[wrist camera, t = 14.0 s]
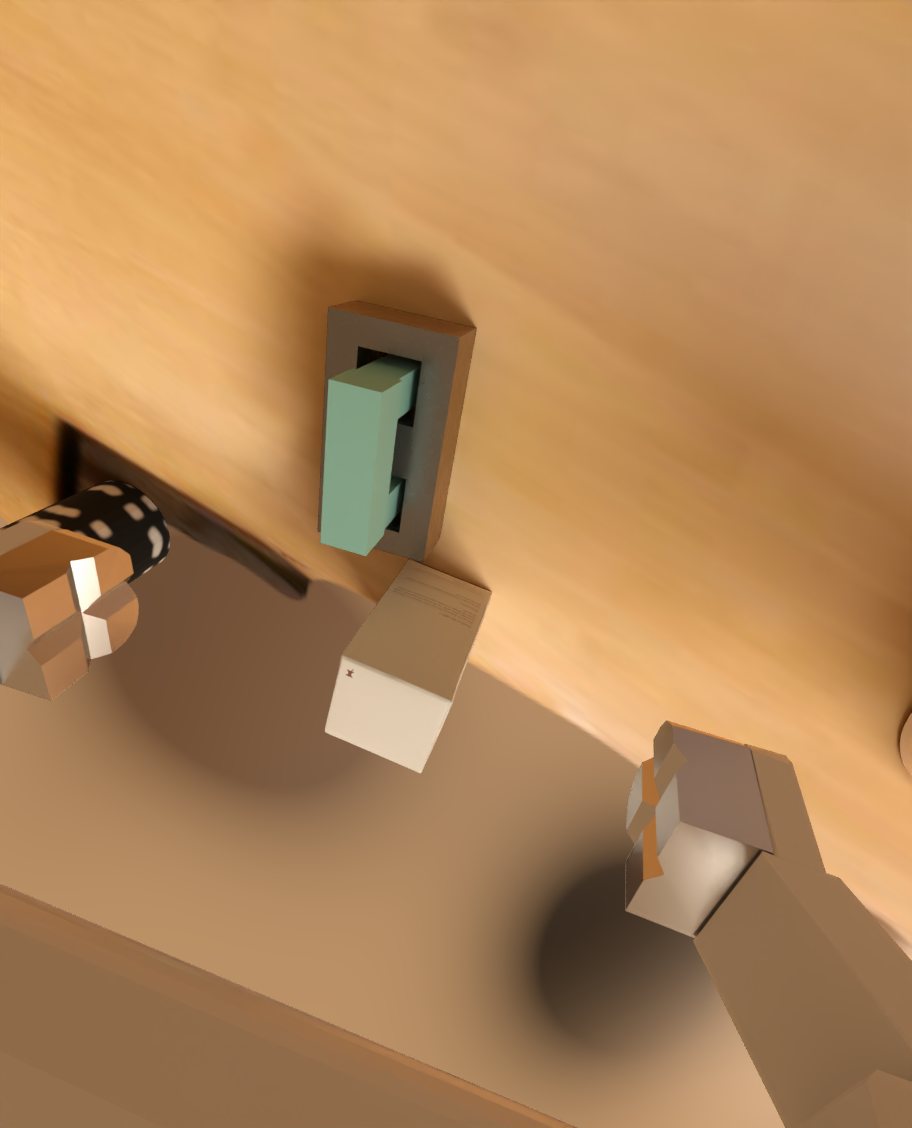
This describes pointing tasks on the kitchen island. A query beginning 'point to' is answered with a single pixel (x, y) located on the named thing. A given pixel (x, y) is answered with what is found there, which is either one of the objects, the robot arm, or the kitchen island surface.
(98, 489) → the white-spotted black cylinder
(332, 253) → the kitchen island surface
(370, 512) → the green u-shaped block
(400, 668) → the supplement box
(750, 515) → the kitchen island surface
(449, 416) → the gray socket base
